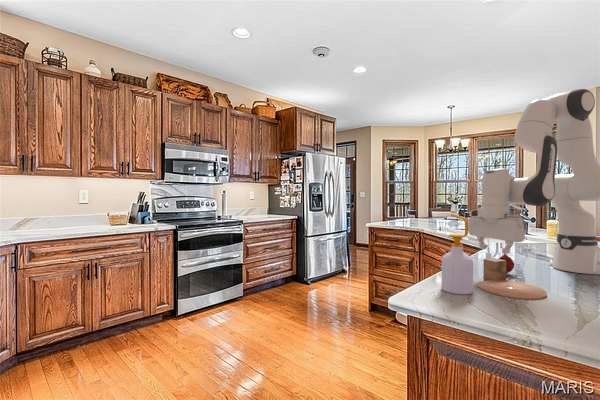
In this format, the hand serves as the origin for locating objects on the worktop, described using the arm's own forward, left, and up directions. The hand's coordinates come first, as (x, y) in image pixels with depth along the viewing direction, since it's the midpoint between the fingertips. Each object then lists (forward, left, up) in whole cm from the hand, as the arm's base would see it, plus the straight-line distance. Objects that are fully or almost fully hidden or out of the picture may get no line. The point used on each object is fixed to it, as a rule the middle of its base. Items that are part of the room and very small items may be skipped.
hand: (494, 251), depth 115 cm
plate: (+7, +12, -10) cm, 17 cm away
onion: (-10, -4, -10) cm, 15 cm away
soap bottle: (+24, +7, -10) cm, 27 cm away
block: (0, 0, -10) cm, 10 cm away
